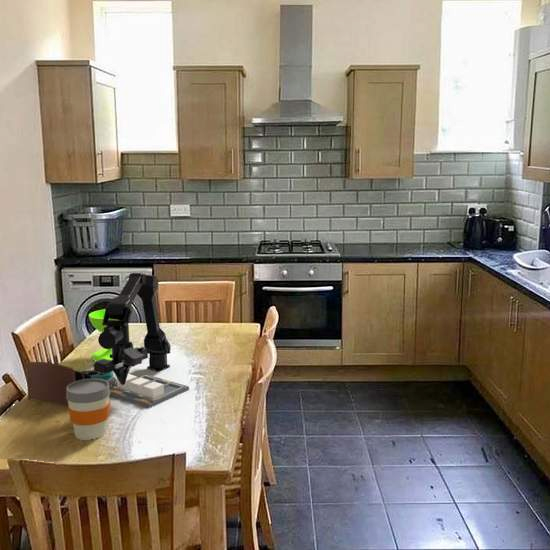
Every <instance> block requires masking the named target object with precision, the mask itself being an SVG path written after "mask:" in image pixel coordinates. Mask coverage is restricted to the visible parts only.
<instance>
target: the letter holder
mask: <svg viewBox="0 0 550 550" xmlns="http://www.w3.org/2000/svg"><path fill="white" fill-rule="evenodd" d="M78 371H79V370H78ZM78 371H77V370H74V368H71V367H69V366H66V365H62V364H58V363H53V362H46V361H30V362H27V363H26V383H27V386H26V387H27V399H28V400H31V399H32V401H37V400H38V401H37V402H42V401H43V402H44V403H48V402H49V403H50V404H53V403H54V405H58V406H59V405H60V406H65V407H68V400H67V399H66V388H67V386H68V385H69V384H71V383H73V382H75V381H78V380H83V379H92V377H91V376H90V375H88V374H86V373H82V372H78ZM49 403H48V404H49Z"/></svg>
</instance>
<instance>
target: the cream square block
mask: <svg viewBox="0 0 550 550" xmlns="http://www.w3.org/2000/svg"><path fill="white" fill-rule="evenodd" d="M143 393H144V396H146V397H149V398H152V399H156V398H158V397H160V396H162V395H164V384H161V383H157V382H152V383H149V384H147V385H145V386H143Z"/></svg>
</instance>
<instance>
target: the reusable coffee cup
mask: <svg viewBox="0 0 550 550" xmlns="http://www.w3.org/2000/svg"><path fill="white" fill-rule="evenodd" d="M110 390H111V388H110V387H109V383H108V381H106V380H103V379H95V378H92V379H83V380H78V381H75V382H73V383H71V384H69V385H68V386H67V388H66V399H67V400H68V406H67V411H68V414H69V415H68V416H69V419H70V420H69V421H70V422H71V423H72V426H73V427H72V428H73V431H74V436H75V438H76V439H78V440H82V441H92V440H91V439H93V440H96V438H97V439H100V438H102V437H104V436H105V435H106V434H105V433H107V429H108V428H107V427H108V418H109V416H110V409H111V408H110V405H111V401H110V396H111V395H110ZM104 434H105V435H104ZM103 435H104V436H103ZM101 436H102V437H101ZM99 437H100V438H99Z"/></svg>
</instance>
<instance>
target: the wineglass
mask: <svg viewBox="0 0 550 550" xmlns="http://www.w3.org/2000/svg"><path fill="white" fill-rule="evenodd" d="M105 310H106V308H104V309H100V310H99V309H98V310H95V311H92V312H90V313H88V319H89V321H90V323H91V325H92V327H93V328H94V329H95V330H96V331H99V332H100V333H102V332H104V328H105V327H107V326H105V325H102V323H103V319H104V314H105ZM109 320H113V319H109ZM110 354H112V348H111V349H104V348H103V349H101V350H97V351H96V352H94V353H93V354H92V355H91V360H92V359H94V360H96V361H99V360H102V359H106V360H109V361H110V360H113V358H110ZM94 360H93V361H94ZM96 361H95V362H96Z"/></svg>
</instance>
